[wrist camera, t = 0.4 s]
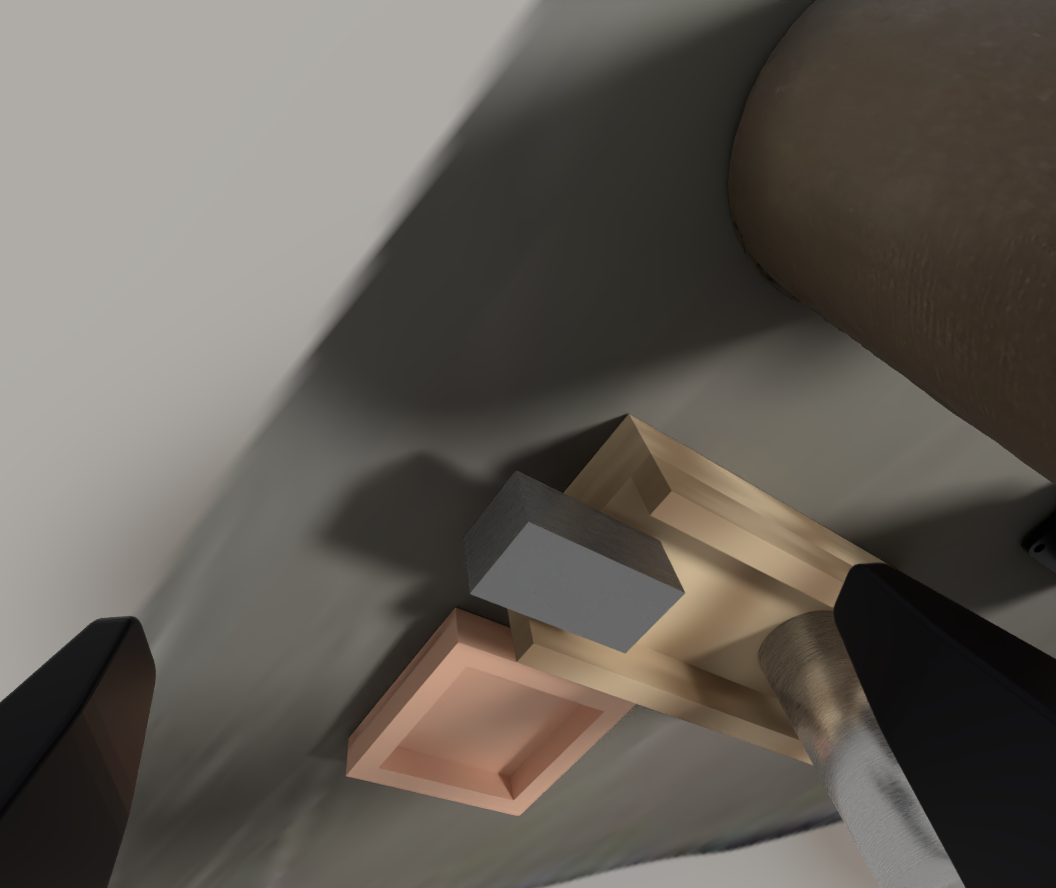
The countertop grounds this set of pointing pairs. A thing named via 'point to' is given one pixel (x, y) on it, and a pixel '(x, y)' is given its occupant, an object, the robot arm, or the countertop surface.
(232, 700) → the countertop surface
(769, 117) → the pillar candle
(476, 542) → the grey rectangular metal block
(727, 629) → the socket block
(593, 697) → the rack tray
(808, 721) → the grey tall cylinder
